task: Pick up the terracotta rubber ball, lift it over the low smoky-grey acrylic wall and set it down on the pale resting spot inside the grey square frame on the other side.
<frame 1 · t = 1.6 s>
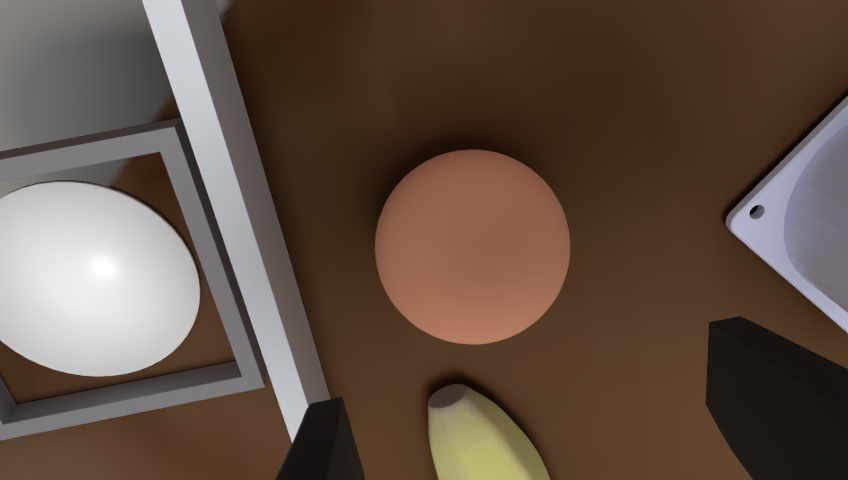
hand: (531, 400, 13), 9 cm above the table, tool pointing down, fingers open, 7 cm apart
acrylic wall: (272, 246, 21), on the table
grey square frame: (86, 283, 21), on the table
ball: (471, 246, 19), point 3 cm above the table
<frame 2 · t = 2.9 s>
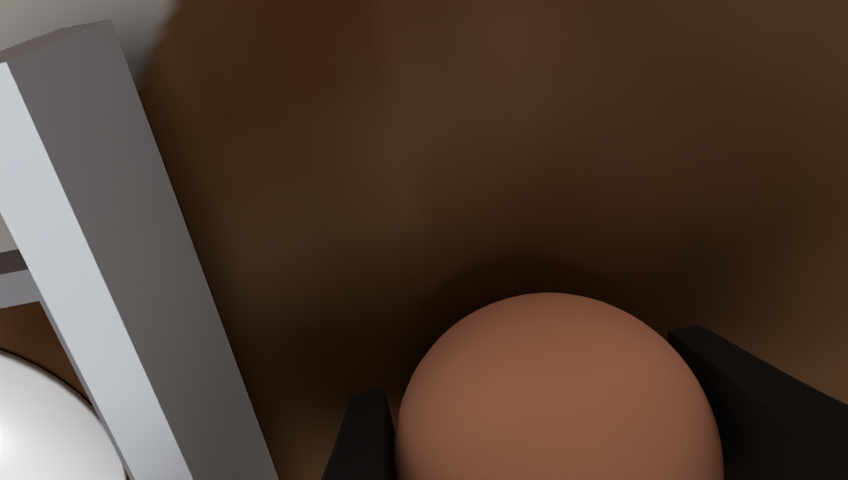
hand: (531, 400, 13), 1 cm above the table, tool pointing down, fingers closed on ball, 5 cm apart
acrylic wall: (235, 414, 14), on the table
ball: (551, 450, 11), point 3 cm above the table, touching gripper
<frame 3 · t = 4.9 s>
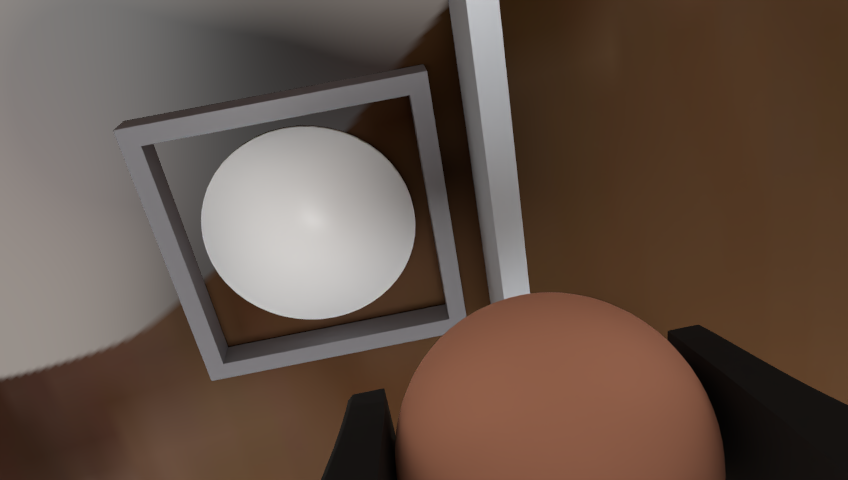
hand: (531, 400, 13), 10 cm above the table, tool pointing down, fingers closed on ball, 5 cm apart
acrylic wall: (486, 192, 22), on the table
grey square frame: (310, 227, 22), on the table
ball: (552, 449, 11), point 12 cm above the table, touching gripper
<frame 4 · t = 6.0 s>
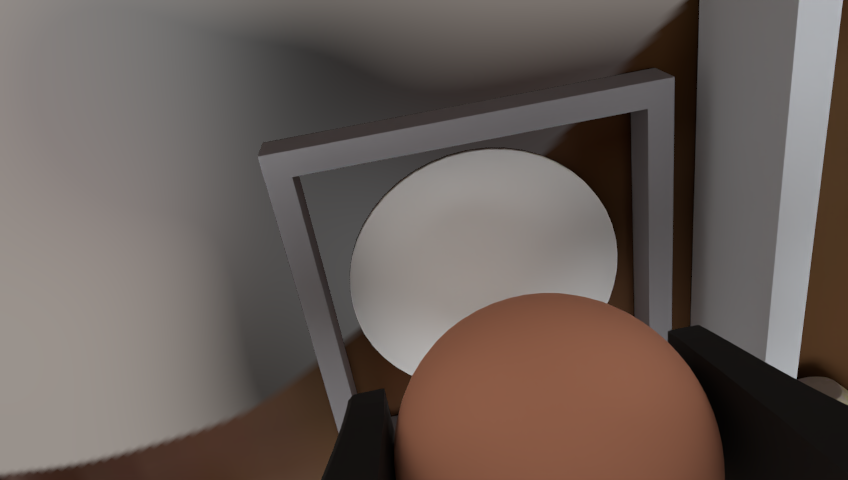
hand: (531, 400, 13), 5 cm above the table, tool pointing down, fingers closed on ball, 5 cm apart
acrylic wall: (707, 230, 17), on the table
grey square frame: (484, 276, 17), on the table
ball: (551, 450, 11), point 6 cm above the table, touching gripper
when the fingers open (3 cm above the table, at t = 6.9 s): ball drops 2 cm, resting on grey square frame.
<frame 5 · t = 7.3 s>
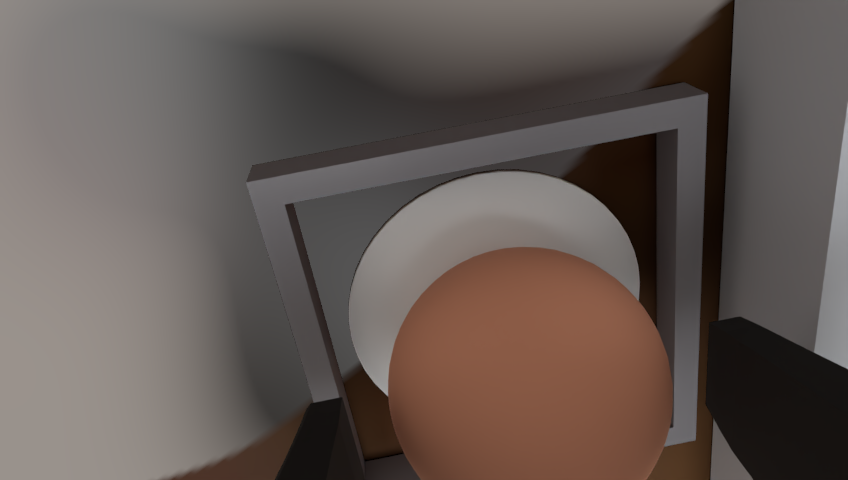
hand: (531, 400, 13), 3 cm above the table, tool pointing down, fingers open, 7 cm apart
acrylic wall: (737, 257, 16), on the table
grey square frame: (494, 307, 16), on the table
ball: (525, 384, 13), point 3 cm above the table, touching grey square frame
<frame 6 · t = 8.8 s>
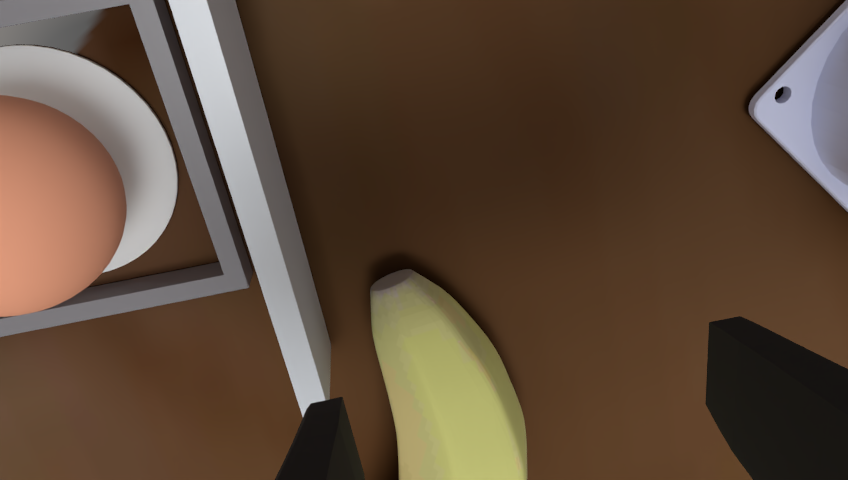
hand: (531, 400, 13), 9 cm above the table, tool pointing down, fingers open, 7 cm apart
acrylic wall: (256, 127, 19), on the table
grey square frame: (53, 167, 19), on the table
ball: (6, 206, 16), point 3 cm above the table, touching grey square frame
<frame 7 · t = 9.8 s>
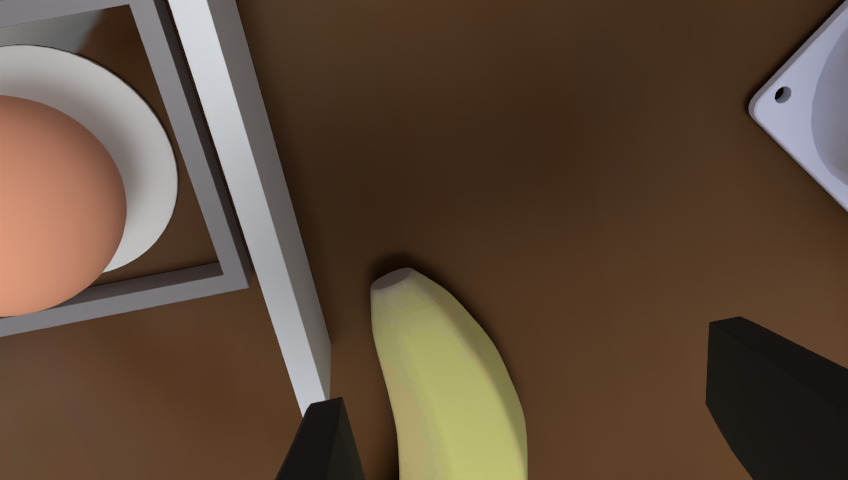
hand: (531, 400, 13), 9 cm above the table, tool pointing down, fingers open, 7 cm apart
acrylic wall: (256, 127, 19), on the table
grey square frame: (53, 167, 19), on the table
ball: (6, 206, 16), point 3 cm above the table, touching grey square frame
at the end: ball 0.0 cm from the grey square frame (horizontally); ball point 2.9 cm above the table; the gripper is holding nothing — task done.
